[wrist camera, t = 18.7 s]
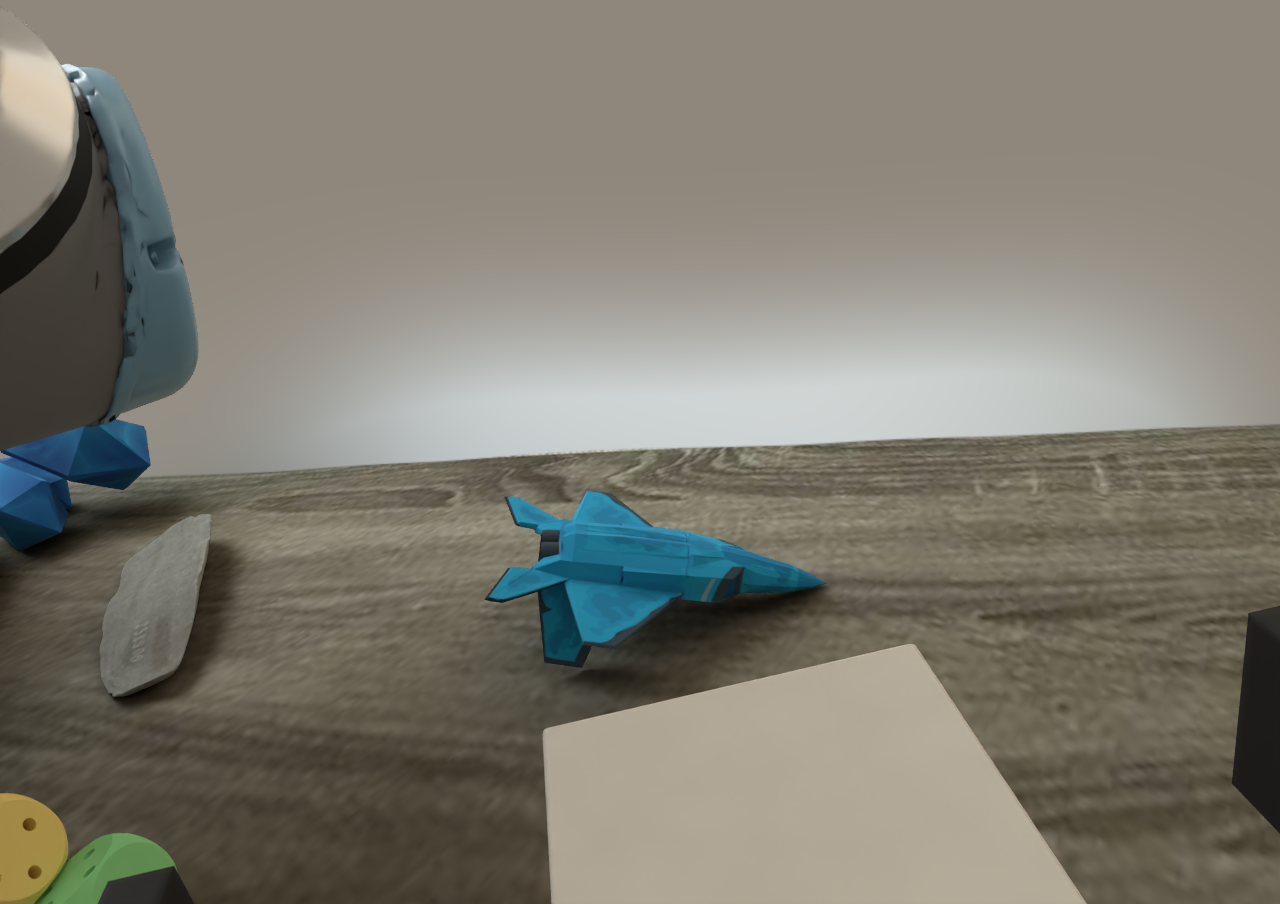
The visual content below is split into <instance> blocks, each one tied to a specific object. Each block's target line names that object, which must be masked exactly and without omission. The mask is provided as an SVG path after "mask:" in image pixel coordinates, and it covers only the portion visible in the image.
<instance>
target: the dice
mask: <svg viewBox="0 0 1280 904" xmlns="http://www.w3.org/2000/svg"><path fill="white" fill-rule="evenodd" d="M67 858H68V839H67V834H66V831H65V828H64V826H63V824H62V822H61V820H60V819H59V818H58V817H57V815H56V814H55V813H54V812H53V811H51V810H50V809H49V808H48V807H46V806H45V805H43V804H42V803H40V802H38V801H36V800H34V799H32V798H30V797H27V796H23V795H19V794H13V793H2V794H0V904H98V902H99V900H100V898H101V895H102V893H103V891H104V889H105V887H106V885H107V882H108V881H111V880H116V879H120V878H124V877H128V876H133V875H137V874H141V873H145V872H150V871H154V870H158V869H162V868H167V867H171V866H174V867H175V869H176V870H177V868H176V866H175V863H174V861H173V860H172V858H171V857H170V856H169V854H168V853H167V852H166V851H165V850H164V849H162V848H161V847H160V846H159V845H157V844H156V843H154V842H152V841H150V840H148V839H146V838H144V837H141V836H138V835H134V834H128V833H113V834H107V835H103V836H101V837H99V838H97V839H95V840H94V841H92V842H91V843H89V844H88V845H87V846H85V847H84V848H83V849H81V850H80V851H79V852H78V853H76V854H75V855H74V856H73V857H72V858H71V859H70V860H69V861H68V862H67V863H65V862H66V860H67ZM177 872H178V871H177Z"/></svg>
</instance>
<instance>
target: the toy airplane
mask: <svg viewBox="0 0 1280 904" xmlns="http://www.w3.org/2000/svg"><path fill="white" fill-rule="evenodd" d="M505 499H506V502H507V504H508V507H509V510H510V512H511V515H512V517H513V520H514V523H515V524H516V525H517V526H520V527H525V528H530V529H534V530H535V533H537V534H541V542H540V552H539V559H538V563H536V564H535V565H534V566H533V567H532V568H531V569H528V568H519V567H511V568H508V569H507V570H506V572H505V573H504V574H503V576H502V577H501V578H500V580H499V581H498V582H497V584H496V585H495V586H494V588H493V589H492V590H491V591H490V593H489V594H488V595H487V597H486V598H485V600H488V601H493V602H500V603H503V602H506V601H509V600H513V599H516V598H519V597H522V596H525V595H529V594H532V593H535V592H538V599H539V610H540V620H541V631H542V641H543V652H544V661H545V663H551V664H559V665H566V666H573V667H581V668H582V667H583V664H584V662H585V660H586V658H587V655H588V653H589V651H590V649H591V646H595V647H602V648H610V649H616V648H617V647H618V646H620V645H621V644H622V643H623V642H625V641H626V640H627V639H628V638H630V637H631V636H632V635H634V634H635V633H636V632H637V631H639V630H640V629H641V628H642V627H644V626H645V625H646V624H648V623H649V622H651V621H652V620H653V619H655V618H656V617H658V616H659V615H660V614H662V613H663V612H665V611H666V610H667V609H669V608H670V607H672V606H673V605H674V604H676V603H677V602H679V601H680V600H681V599H683V600H693V601H703V602H713V603H722V602H724V601H726V600H728V599H730V598H732V597H734V596H736V595H738V594H740V593H781V592H790V591H796V590H802V589H809V588H812V587H816V586H820V585H824V584H827V583H825V582H823V581H821V580H820V579H818V578H816V577H815V576H813V575H811V574H809V573H807V572H805V571H803V570H801V569H798V568H796V567H794V566H792V565H789V564H786V563H782V562H779V561H775V560H772V559H769V558H766V557H763V556H760V555H758V554H755V553H752V552H750V551H746V550H744V549H742V548H740V547H738V546H736V545H733V544H731V543H728V542H726V541H723V540H719V539H715V538H711V537H706V536H702V535H698V534H694V533H690V532H685V531H680V530H673V529H665V528H658V527H653V526H652V525H650V524H649V523H648V522H647V521H645V520H644V519H643V518H641V517H640V516H639V515H638V514H636V513H635V512H634V511H633V510H631V509H630V508H629V507H628V506H626V505H625V504H624V503H622V502H621V501H620V500H619V499H617V498H616V497H615V496H614V495H612V494H609V493H602V492H596V491H589V490H588V491H587V492H586V494H585V496H584V498H583V500H582V502H581V504H580V506H579V507H578V509H577V511H576V513H575V515H574V517H573V519H572V520H558V519H556V518H555V517H553V516H551V515H549V514H547V513H545V512H544V511H542V510H540V509H538V508H536V507H535V506H533V505H531V504H529V503H527V502H526V501H524V500H522V499H520V498H515V497H505Z"/></svg>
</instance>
